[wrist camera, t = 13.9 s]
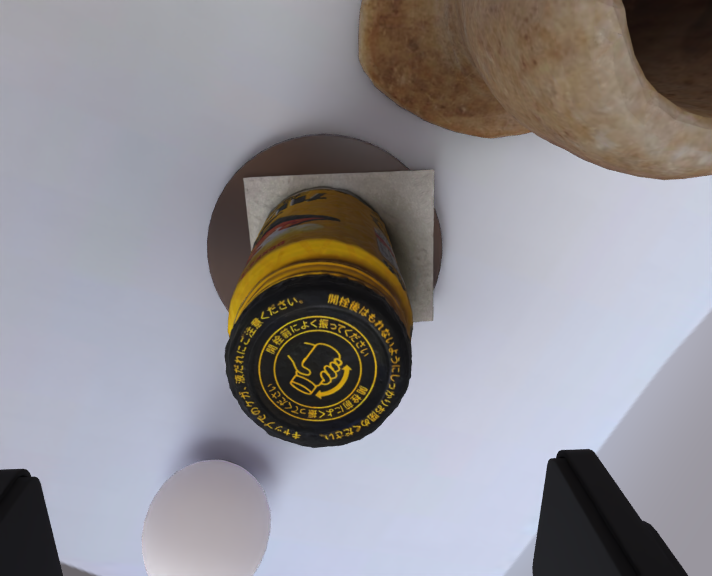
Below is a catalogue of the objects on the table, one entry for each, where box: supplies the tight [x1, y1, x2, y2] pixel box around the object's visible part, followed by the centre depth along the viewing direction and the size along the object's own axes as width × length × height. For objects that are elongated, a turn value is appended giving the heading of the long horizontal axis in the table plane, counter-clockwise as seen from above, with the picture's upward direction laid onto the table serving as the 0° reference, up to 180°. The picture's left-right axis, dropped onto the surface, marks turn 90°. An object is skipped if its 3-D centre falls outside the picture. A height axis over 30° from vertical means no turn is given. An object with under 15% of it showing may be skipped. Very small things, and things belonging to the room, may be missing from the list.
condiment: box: [225, 170, 434, 448], centre depth 22 cm, size 7×8×12 cm
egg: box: [142, 460, 271, 576], centre depth 28 cm, size 6×6×8 cm
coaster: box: [207, 134, 442, 312], centre depth 27 cm, size 11×11×1 cm
